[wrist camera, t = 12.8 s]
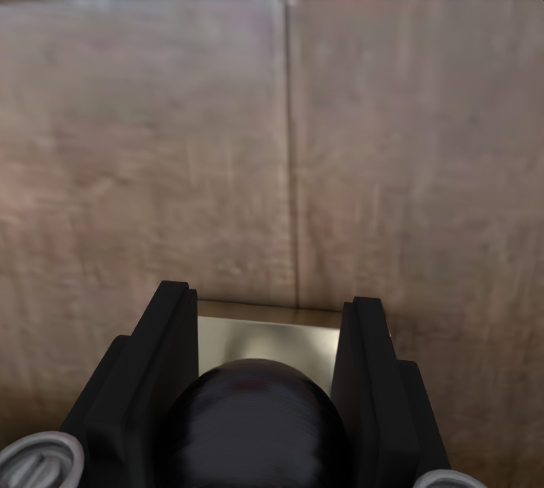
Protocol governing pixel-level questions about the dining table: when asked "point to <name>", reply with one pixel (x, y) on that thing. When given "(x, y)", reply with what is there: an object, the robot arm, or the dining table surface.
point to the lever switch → (253, 431)
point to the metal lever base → (269, 337)
